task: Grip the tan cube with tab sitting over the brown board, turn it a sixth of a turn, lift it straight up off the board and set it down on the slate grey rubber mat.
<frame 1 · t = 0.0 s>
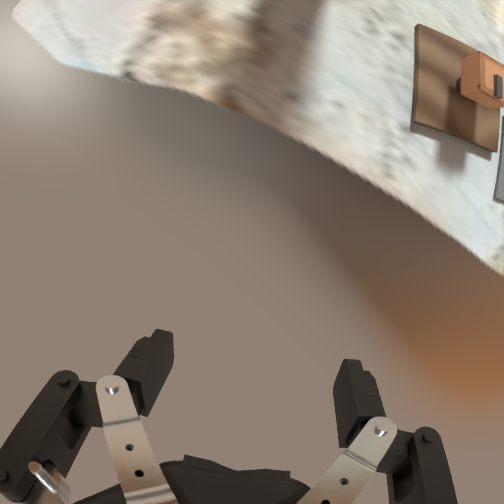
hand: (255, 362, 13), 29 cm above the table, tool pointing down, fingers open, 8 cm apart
tan cube with tab: (476, 83, 25), point 5 cm above the table, touching brown board
brown board: (458, 88, 30), on the table
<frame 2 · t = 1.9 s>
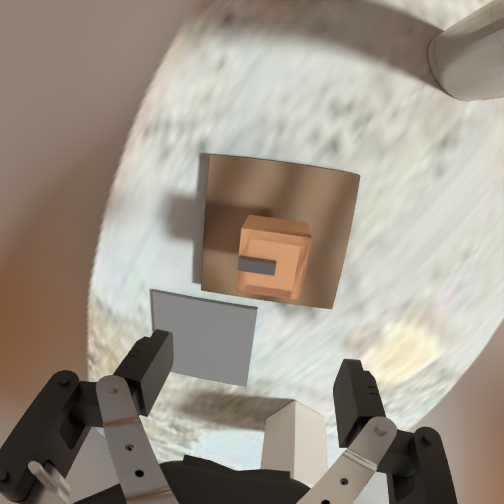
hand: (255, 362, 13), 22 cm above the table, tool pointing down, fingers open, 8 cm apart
tan cube with tab: (274, 246, 29), point 5 cm above the table, touching brown board
mat: (202, 341, 40), on the table
brown board: (276, 232, 34), on the table
milk carton: (295, 416, 44), on the table
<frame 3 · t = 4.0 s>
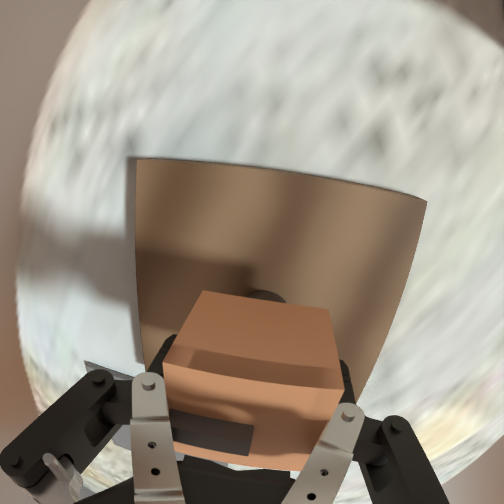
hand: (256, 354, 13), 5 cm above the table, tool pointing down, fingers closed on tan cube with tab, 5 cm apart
tan cube with tab: (257, 349, 14), point 5 cm above the table, touching gripper, brown board
mat: (162, 428, 25), on the table
brown board: (265, 300, 18), on the table
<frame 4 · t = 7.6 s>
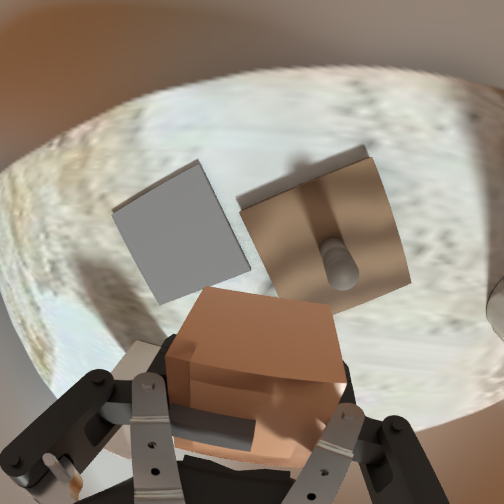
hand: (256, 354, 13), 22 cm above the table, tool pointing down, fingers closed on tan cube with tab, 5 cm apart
tan cube with tab: (259, 346, 14), point 22 cm above the table, touching gripper
mat: (177, 239, 36), on the table
brown board: (331, 245, 34), on the table
milk carton: (158, 360, 44), on the table
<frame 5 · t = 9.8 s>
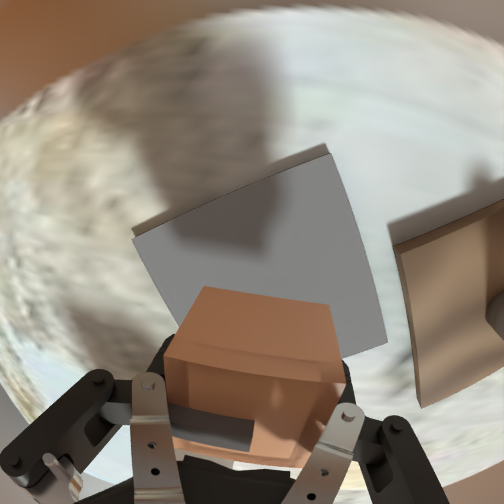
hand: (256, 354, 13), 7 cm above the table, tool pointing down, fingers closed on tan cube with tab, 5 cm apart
tan cube with tab: (258, 346, 14), point 6 cm above the table, touching gripper
mat: (266, 292, 20), on the table
brown board: (489, 299, 18), on the table
milk carton: (203, 444, 27), on the table
when the fingers open (2 cm above the table, at t = 11.4 s): tan cube with tab drops 1 cm, resting on mat.
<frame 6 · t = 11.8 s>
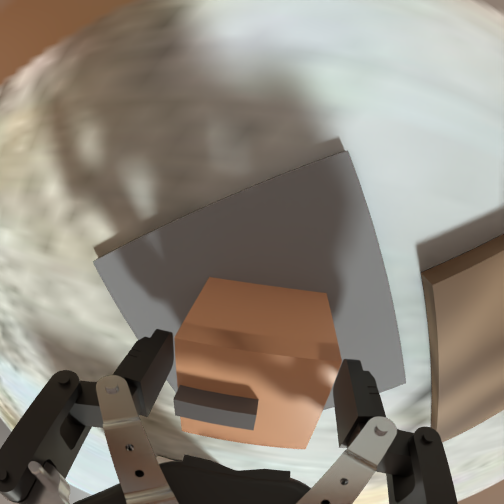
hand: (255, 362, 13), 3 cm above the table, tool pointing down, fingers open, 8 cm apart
tan cube with tab: (260, 333, 15), point 1 cm above the table, touching mat
mat: (260, 329, 15), on the table
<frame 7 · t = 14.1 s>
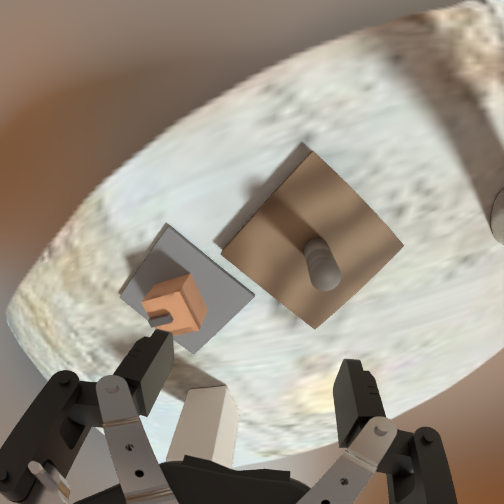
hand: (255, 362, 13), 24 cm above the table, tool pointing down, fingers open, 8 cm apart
tan cube with tab: (181, 296, 39), point 1 cm above the table, touching mat
mat: (182, 295, 39), on the table
brown board: (314, 245, 36), on the table
milk carton: (215, 399, 47), on the table
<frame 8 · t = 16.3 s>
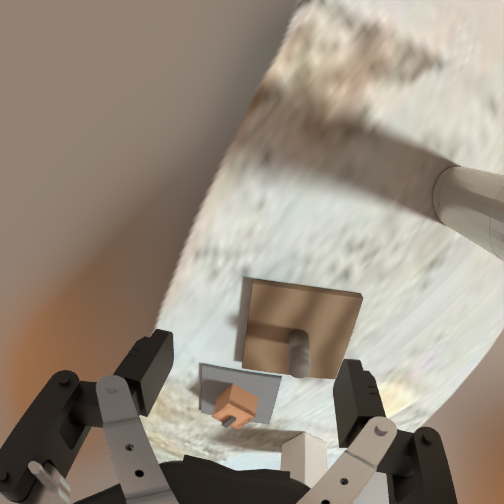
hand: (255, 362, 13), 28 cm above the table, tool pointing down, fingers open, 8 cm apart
tan cube with tab: (237, 397, 50), point 1 cm above the table, touching mat
mat: (238, 396, 51), on the table
brown board: (298, 331, 45), on the table
milk carton: (304, 442, 55), on the table
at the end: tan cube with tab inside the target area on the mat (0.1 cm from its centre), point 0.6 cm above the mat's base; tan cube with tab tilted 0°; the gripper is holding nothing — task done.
